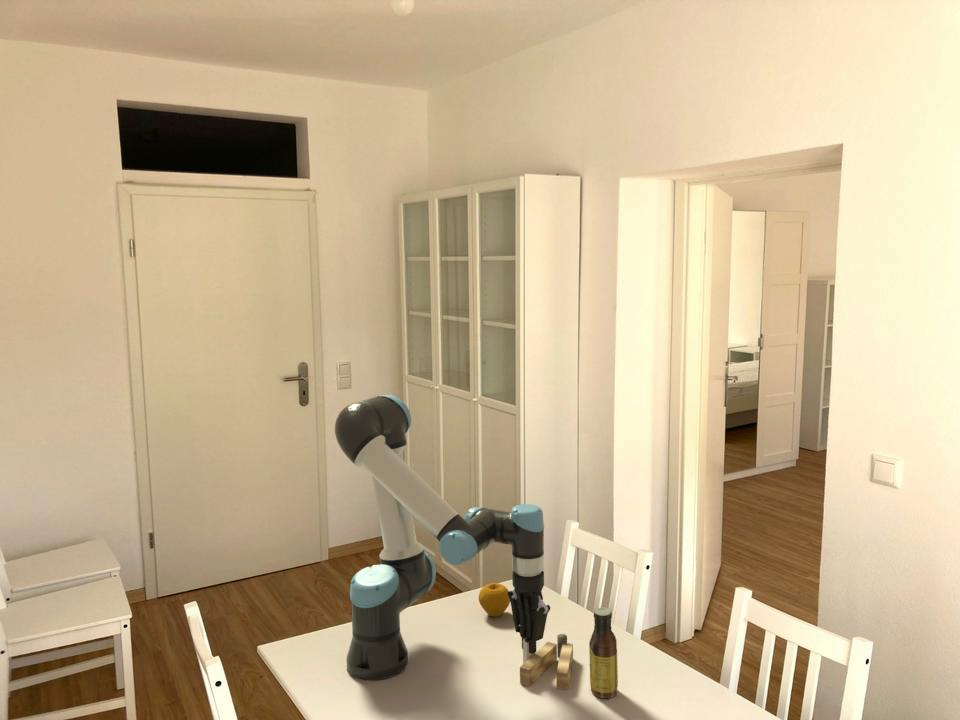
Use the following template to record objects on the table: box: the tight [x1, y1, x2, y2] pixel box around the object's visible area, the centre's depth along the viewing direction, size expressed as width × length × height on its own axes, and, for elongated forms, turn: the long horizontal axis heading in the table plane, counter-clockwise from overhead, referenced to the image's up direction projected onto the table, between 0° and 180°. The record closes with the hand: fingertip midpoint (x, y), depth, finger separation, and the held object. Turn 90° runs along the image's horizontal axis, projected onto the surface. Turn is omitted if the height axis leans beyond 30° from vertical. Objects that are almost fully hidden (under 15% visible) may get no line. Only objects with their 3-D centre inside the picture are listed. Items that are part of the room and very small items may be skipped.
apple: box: [477, 582, 511, 618], centre depth 217 cm, size 9×9×9 cm
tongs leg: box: [519, 641, 558, 687], centre depth 187 cm, size 14×2×4 cm, turn 147°
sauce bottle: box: [588, 606, 619, 699], centre depth 176 cm, size 6×6×20 cm
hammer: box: [555, 633, 574, 691], centre depth 187 cm, size 16×4×5 cm, turn 168°
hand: (529, 663), depth 187 cm, fingers closed
